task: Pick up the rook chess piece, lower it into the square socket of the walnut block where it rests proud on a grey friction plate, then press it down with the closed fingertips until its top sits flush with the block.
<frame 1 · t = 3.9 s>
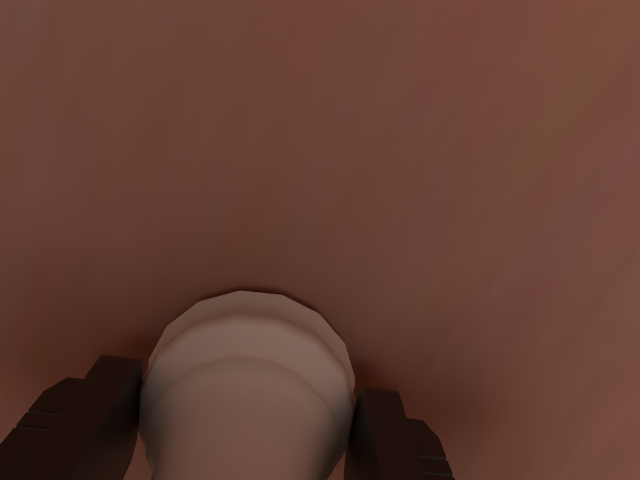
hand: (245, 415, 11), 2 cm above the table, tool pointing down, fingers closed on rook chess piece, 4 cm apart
rook chess piece: (254, 371, 13), on the table, touching gripper
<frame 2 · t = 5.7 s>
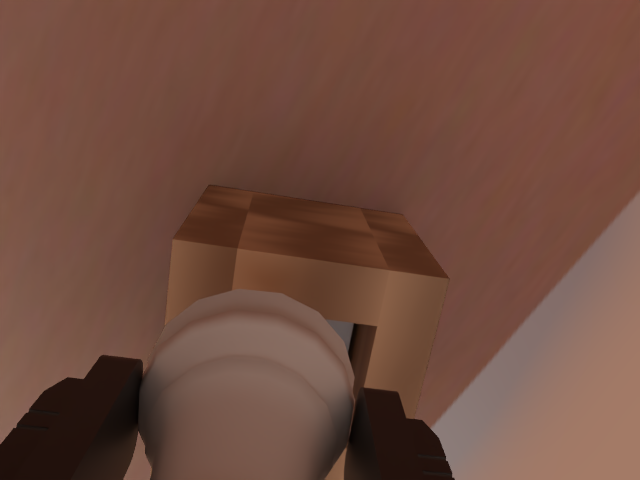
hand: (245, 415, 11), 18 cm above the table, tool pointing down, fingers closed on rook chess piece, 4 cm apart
socket block: (292, 289, 30), on the table
friction plate: (292, 340, 24), point 6 cm above the table, slide at 0.0 cm
rook chess piece: (253, 369, 13), point 16 cm above the table, touching gripper
when the fingers open (10 cm above the table, at t = 7.8 s): rook chess piece drops 8 cm, resting on friction plate.
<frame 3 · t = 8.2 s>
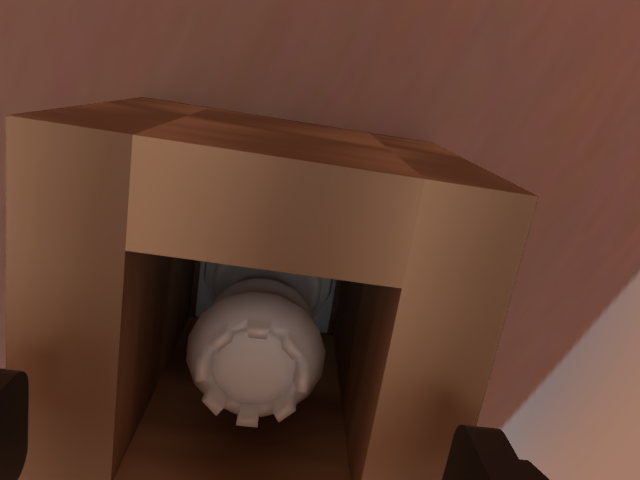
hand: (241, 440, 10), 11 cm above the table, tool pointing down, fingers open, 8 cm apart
socket block: (271, 257, 20), on the table
friction plate: (270, 260, 20), resting in socket block, slide at 5.4 cm, touching rook chess piece
rook chess piece: (271, 259, 20), resting on friction plate
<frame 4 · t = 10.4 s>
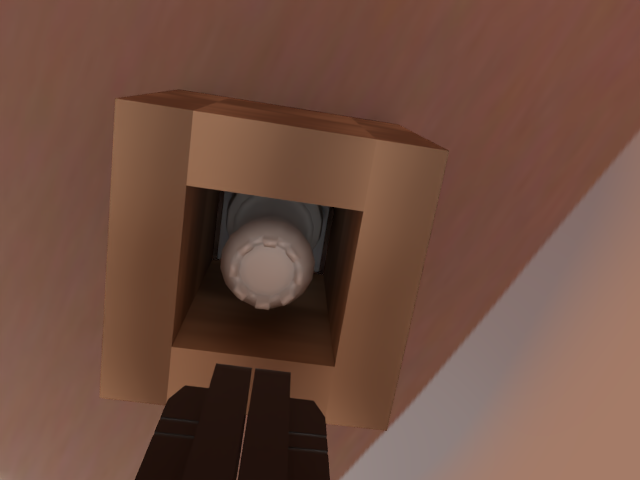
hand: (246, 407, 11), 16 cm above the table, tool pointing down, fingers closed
socket block: (275, 213, 27), on the table
friction plate: (275, 214, 26), resting in socket block, slide at 5.4 cm, touching rook chess piece
rook chess piece: (275, 214, 26), resting on friction plate
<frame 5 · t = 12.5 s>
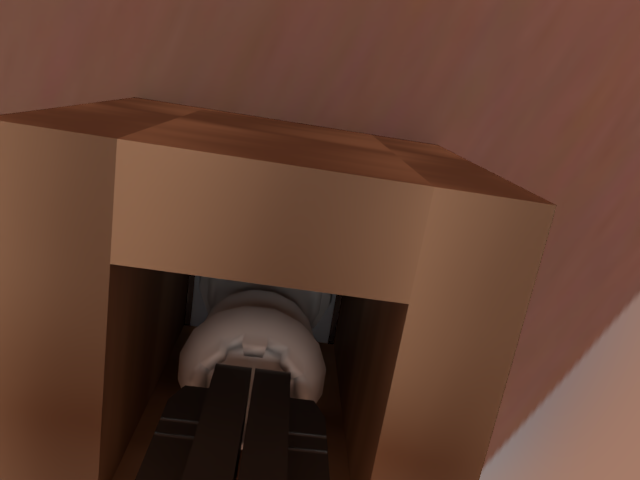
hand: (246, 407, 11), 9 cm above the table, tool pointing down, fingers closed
socket block: (269, 264, 20), on the table
friction plate: (268, 267, 19), resting in socket block, slide at 5.4 cm, touching rook chess piece
rook chess piece: (269, 266, 19), resting on friction plate
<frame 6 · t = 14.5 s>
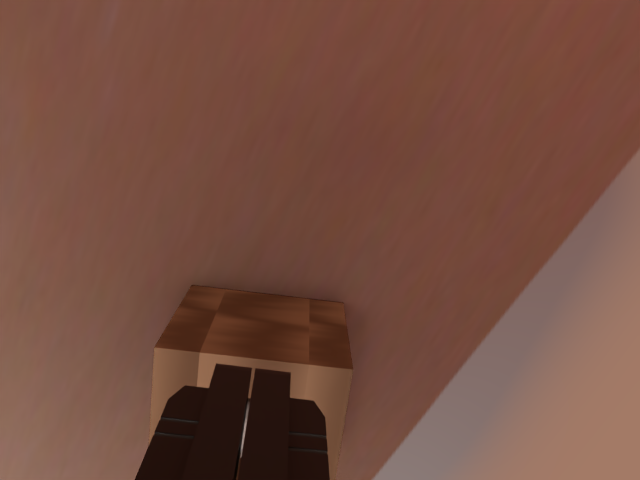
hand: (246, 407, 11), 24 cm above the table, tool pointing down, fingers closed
socket block: (260, 362, 38), on the table
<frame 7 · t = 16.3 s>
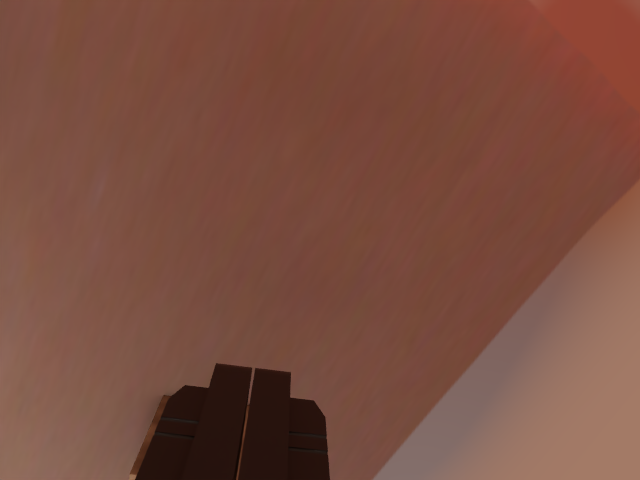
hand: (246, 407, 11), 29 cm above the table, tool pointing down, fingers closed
socket block: (220, 456, 45), on the table
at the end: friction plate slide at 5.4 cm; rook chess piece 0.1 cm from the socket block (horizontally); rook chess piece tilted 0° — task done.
